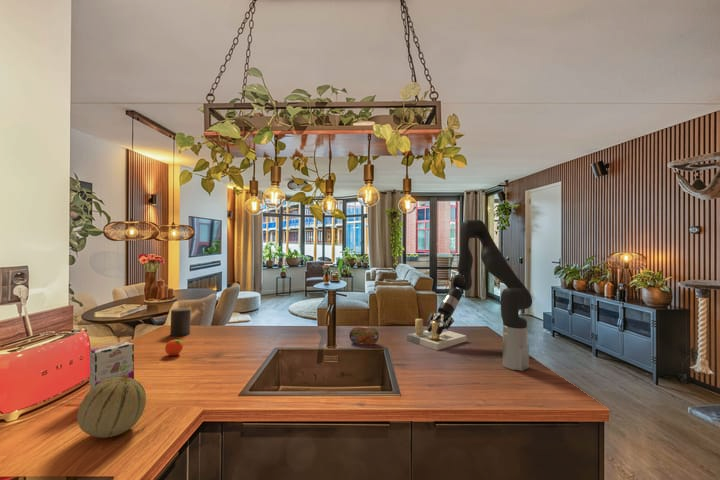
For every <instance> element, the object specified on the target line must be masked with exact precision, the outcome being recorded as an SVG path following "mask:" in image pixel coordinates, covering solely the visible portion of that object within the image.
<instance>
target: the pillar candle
mask: <svg viewBox="0 0 720 480" xmlns="http://www.w3.org/2000/svg"><path fill="white" fill-rule="evenodd" d="M170 310H171V311H170V329H169V330H170V332H169V334H170V336H172V337H183V336H187V335H190V334H191V317H192V313H191V312H192V311H191V310H192V309H191V308H190V307H177V308H173V309H170Z"/></svg>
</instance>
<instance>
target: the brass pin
mask: <svg viewBox="0 0 720 480" xmlns="http://www.w3.org/2000/svg"><path fill="white" fill-rule="evenodd" d="M439 327H441V323H440V322H439V321H436V320H435V321H432V341H435V342H438V341H440V335H438V334H437V331H438V329H439Z"/></svg>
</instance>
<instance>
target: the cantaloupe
mask: <svg viewBox="0 0 720 480" xmlns="http://www.w3.org/2000/svg"><path fill="white" fill-rule="evenodd" d="M146 403H147V393H146V390H145V388H144V386H143V385H142V383H140V382H139V381H138V380H136V379H135V378H134V379H132V378H128V374H126V375H125V376H124V377H114V378H109V379H106V380H104V381H102V382H100V383H98V384H97V385H96V386H94V387H93V388H92V389H91V390H90V389H89V391H87V393H86V394H85V396H84V397H83V399H82V400H81V403H80V404H79V407H78V410H77V424H78V426H79V429H80V430H81V431H83V432H84V433H85V434H87V435H89V436H91V437H94V438H101V439H105V438H108V437H110V438H114V437H116V436H119V435H121V434H123V433H124V434H125V432H127V431H129V430H130V429H131V428H133V427H134V426H135V425H136V424H137V423H138V421H139V420H140V419H141V417H142V416H143V413H144V411H145V407H146ZM113 436H114V437H113Z"/></svg>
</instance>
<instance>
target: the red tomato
mask: <svg viewBox="0 0 720 480" xmlns="http://www.w3.org/2000/svg"><path fill="white" fill-rule="evenodd" d="M164 347H165V349H164V350H165V352H166V354H167V355H169V356H177V355H179V354H180V353H181V352H182V350H183V348H184V342H182V341H181V340H180V339H172V340H169V341H168V342H167V343H166V344H165V346H164Z"/></svg>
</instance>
